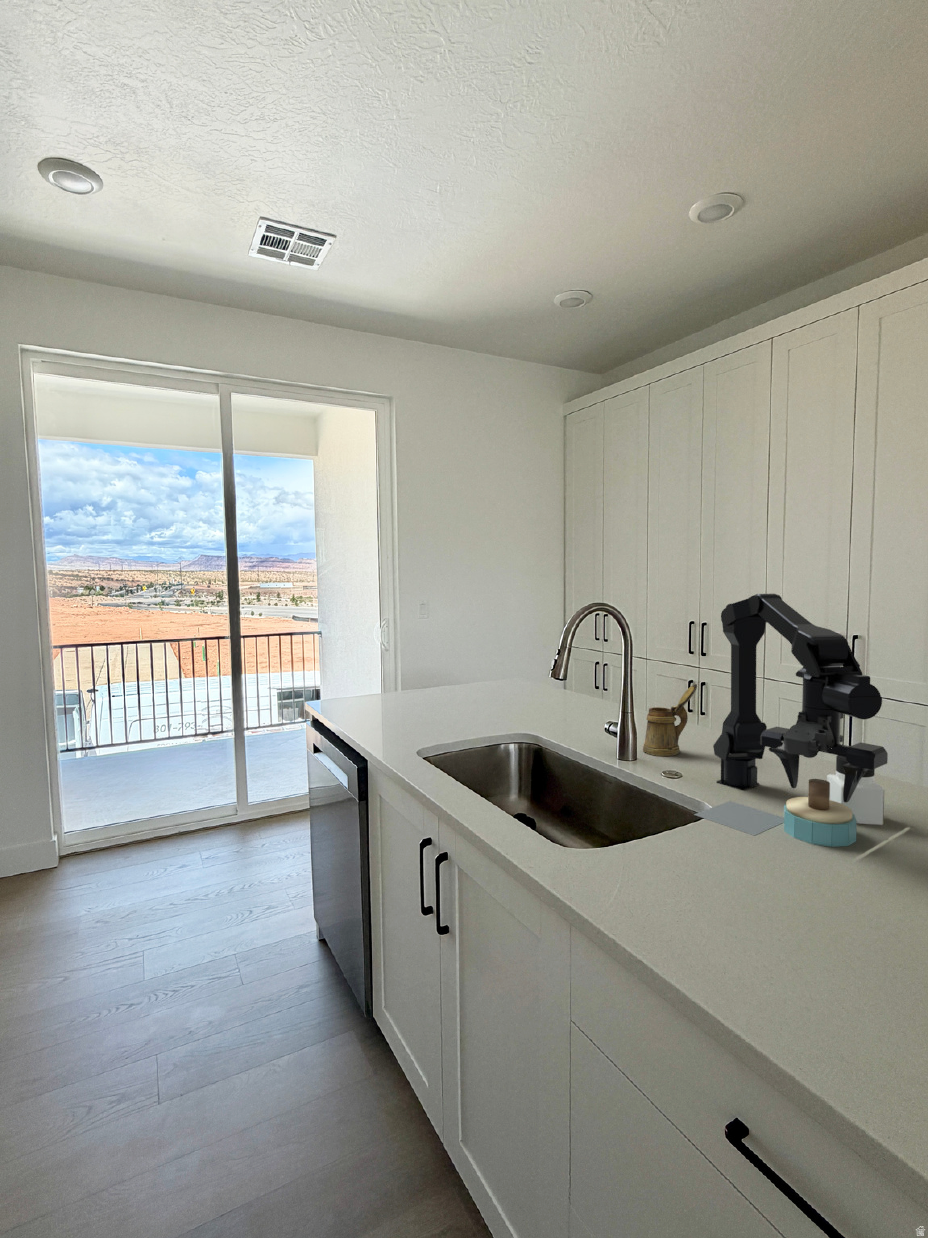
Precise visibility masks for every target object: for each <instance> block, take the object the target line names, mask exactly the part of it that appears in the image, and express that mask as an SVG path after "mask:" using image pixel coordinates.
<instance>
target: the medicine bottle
mask: <svg viewBox="0 0 928 1238" xmlns="http://www.w3.org/2000/svg"><path fill="white" fill-rule="evenodd" d="M835 756H836V757H835V758H836V760H835V761H836V762H835V774H830V773H829V774H827V776H826V781H828V782H830V800H831V801H835V802H838V803H841V804H843V805H845V806H847V807H849V808H850V809H851V810H852V812H853V814H854V815H855V818H856V820H857V824H865V825H880V826H882V825H884V815H885V811H884V810H885V788H884V787H883V786H882V785H880V784H879V783H877V782H876V781H875V771H876V769H869V770H867V771H866V772H865V774H864V775H863V776H862V778H861V779H860V781H859V783H858V785H857V787H856V789H855V790H854V792H853V794H852V796H851V798H850V800H849V801H848V802H844V800H843V790H844V779H845V772H844V769H843V765H845V764H848V763H849V762H848V761H847V760H846V757H844V756H839V755H835Z"/></svg>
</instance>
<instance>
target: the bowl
mask: <svg viewBox="0 0 928 1238" xmlns="http://www.w3.org/2000/svg"><path fill="white" fill-rule="evenodd" d="M783 817H784V823H783V832H785V833H786V834H788V835H789V836H791V837H792V838H794V839H796V840H800V841H803V842H806V843H808V844H812V845H819V846H824V847H831V848H832V847H848V846H850V845H853V844H854V843H856V842H857V824H858V823H857V820H856V818H855V815H854V814H853V815H852V820H851V821H850V822H847V823H843V824H825V823H818V822H813V821H808V820H805V819H802V818H799V817H796V816H794V815H792V814H791V813H789V812H788V811H787V809H786V804H784V805H783Z"/></svg>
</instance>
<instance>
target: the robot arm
mask: <svg viewBox="0 0 928 1238" xmlns="http://www.w3.org/2000/svg"><path fill="white" fill-rule="evenodd" d="M720 614H721V615H720V621H721V623H722V632H723V635H724V636H725V637H726V639H727V641H728V642H729V643H730V711H729V713H728V714H727V716H726V717H725V719H724V720H723V722H722V727H721V728H722V729H721V734H720V735H719V737H717V738H716V739H717V740H716V741H715V743H713V753H714V754H713V755H714V756H716V757H717V758H719V759H720V779H718V780H716V784H719V785H722V786H726V787H729V788H733V789H736V790H739V791H746V790H749V789H751V788H755V787H757V786H760V783H759V781H758V766H757V765H756V760H758V759H759V760H762V759H763V757H764V754H765V749H766V747H767V748H768V751H769V752H771V753H773V754H775V755H776V756H777V757H778V759H779V760H780V762H781V764H782V766H783V769H784V771H785V774H786V777H787V780H788V782H789V785H790V788H791V789H796V788H797V786H798V782H799V771H800V769H799V767H800V756H803V757H805V758H808V759H812V758H815V757H817V756H818V754H819V752H822V753H826V754H830V755H834V756H837V755H839V756H844V757H846V760H847V761H848V762H849V763H848V764H845V765H843V769H844V772H845V779H844V790H843V800H844V802H848V801H849V800H850V798H851V796H852V794H853V792H854V790H855V789H856V787H857V785H858V783H859V781H860V779H861V778H862V776H863V775H864V774H865V772H866V771H867V770H869V769H875V770H876V769H877V768H880V767H882V766H884V765H887V764H888V757H889V756H888V752H887V750H886V749H885V747H884V746H882V745H875V744H870V743H866V742H861V741H860V742H858V743H855V744H853V745H845V744H840V743H842V742H844V735H843V734H842V735H841V719H844V715H845V716H846V715H847V716H848V717H849V716H850V717H851V718H852V717H853V718H855V719H860V720H869V719H871V718H874V717H875V716H877V714H878V713H879V711H880V710H881V708H882V706H883V705H882V704H883V697H882V695H881V692H880V690H879V689H878V688H877V687H876V686H875V685H873V684H871V677H870V676H869V675H866V674H865V675H864V674H863V671H862V669H861V665H860V663H859V661H858V660H857V659H856V657H855V655H854V653H853V651H852V649H851V647H850V645H849V642H848V640H847V638H846V637H845V636H844V635H842V634H840V633H838V632H835V631H834V630H832V629H829V628H825V627H820V626H817V625H815V624H813V623H812V622H810V621H809V620H808V619H806V618H805V617H804V616H803V615H801V614H800V613H799V612H798V611H797V610H795V609H794V608H793V607H792V606H790V605H789V604H787V602H785V601H784V600H783V599H782V597H781V596H780V594H776V593H756V594H754V595H752V596H749V597H748V598H746V599H743V600H739V601H736V602H733V603H728V604H727V605H726V606H725V607H724V608H723V609H722V610H721V613H720ZM767 623H768V625H770V626H771V628H773V629H774V630H775V631H777V632H778V633H779V634H780V635H781V636H782V637H783V638H784V639H785V640H787V642H789V644H790V646H791V654H792V655H793V657H794V658H795V659H796V660H797V662H798V663H799V664H800V665H801V666H802V668H800V669H799V670H798V671H797V672H795V677H798V678H801V679H802V701H801V702H802V705H801V711H798V714H797V720H796V723H795V724H793V725H792V726H791V727H790V728H785V727H782V726H773V727H770V728H768V727H767V724H766V722H763V721H762V719H760V717H759V715H758V714H757V646H758V644H759V643H760V640H762V638H763V636H764V635H765V634H766V626H767Z"/></svg>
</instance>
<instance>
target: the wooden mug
mask: <svg viewBox="0 0 928 1238" xmlns="http://www.w3.org/2000/svg"><path fill="white" fill-rule="evenodd" d="M697 689H698V685H697V684H693V685H692V686H690V687H688V688H687V689H686V690H685V692H684V693H683V694H682V696H681V697H680V699H679V700H678V704H677V705H673V706H671V707H670V708H667V707H662V706H661V707H658V706H657V707H649V708H648V712H647V715H646V721H647V723H646V731H645V737H644V738H645V739H644V743H643V747H642V751H643V753H645V752H646V753H645V754H648V755H651V756H657V757H671V756H676V755H678V754H679V753H680V750H681V749H680V746H679V739H680V736H681V734H682V733H683V730H684V729H685V727H686V725H687V724H688V712H687V710H686V709H685V707H684V706H685V705H686V704H687V703H689V701H690V700H691V698H692V697H693V696H694V694H695V693H696V691H697ZM676 716H677V717H678V718H679V719H680V722H679V723H678V724H677V725H676V724H675V722H676V721H677V717H676Z"/></svg>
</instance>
